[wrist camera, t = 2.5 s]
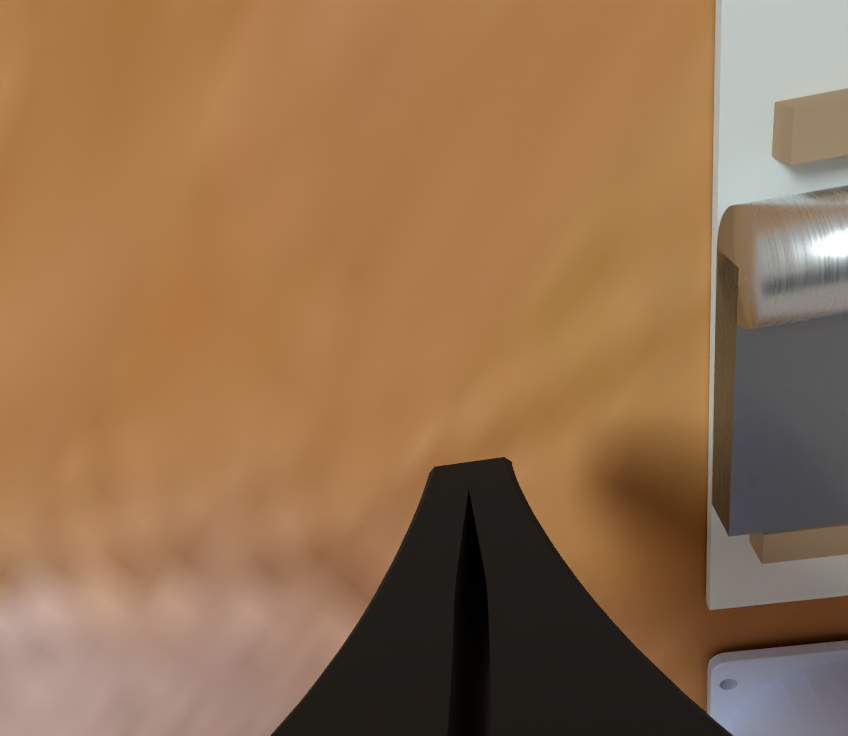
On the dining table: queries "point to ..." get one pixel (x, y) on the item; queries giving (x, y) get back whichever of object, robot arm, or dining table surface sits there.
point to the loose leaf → (781, 364)
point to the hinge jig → (764, 179)
